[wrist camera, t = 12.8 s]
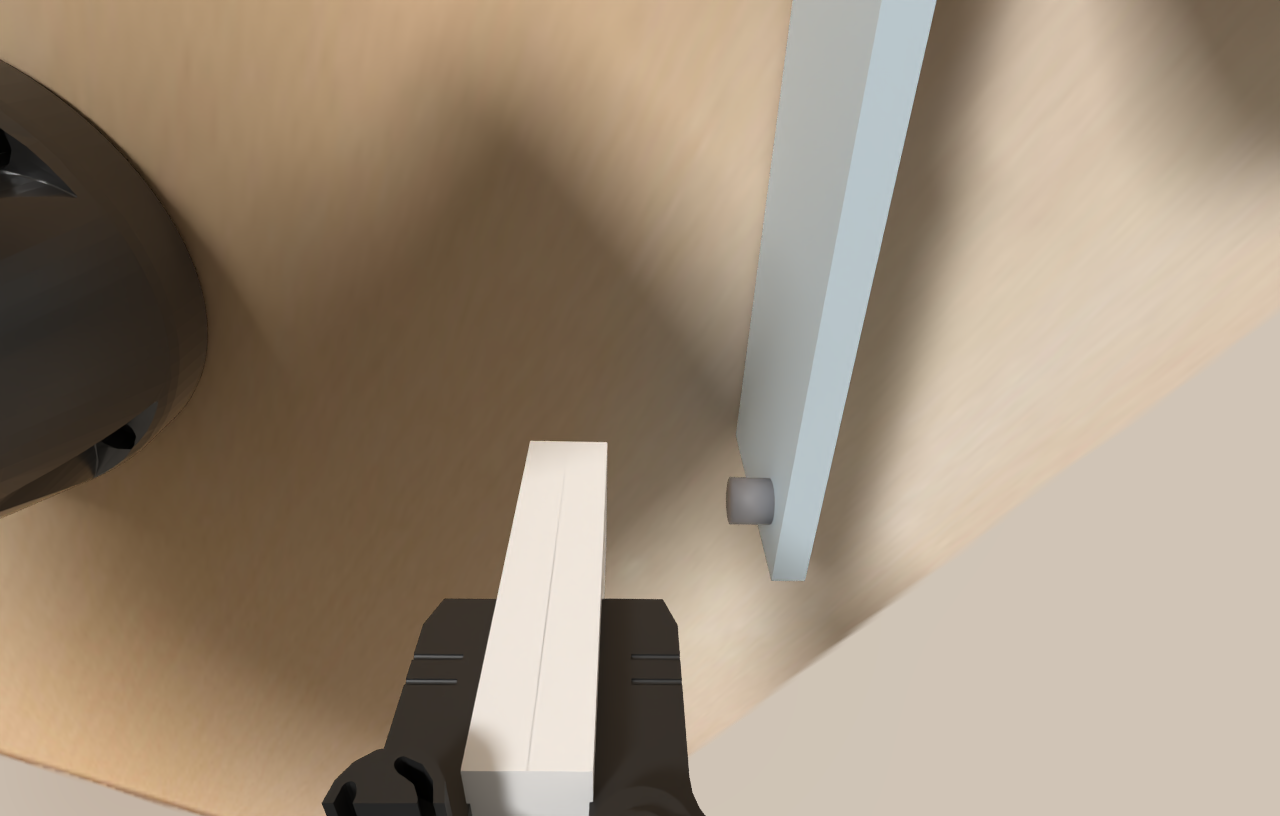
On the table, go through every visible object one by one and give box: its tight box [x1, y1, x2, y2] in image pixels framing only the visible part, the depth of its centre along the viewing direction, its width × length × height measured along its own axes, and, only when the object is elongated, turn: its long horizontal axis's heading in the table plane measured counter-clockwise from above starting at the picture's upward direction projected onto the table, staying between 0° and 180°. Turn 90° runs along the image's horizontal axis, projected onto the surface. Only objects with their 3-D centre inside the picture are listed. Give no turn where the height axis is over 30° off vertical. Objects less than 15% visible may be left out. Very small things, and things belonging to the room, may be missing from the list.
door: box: [726, 0, 936, 581], centre depth 20 cm, size 15×2×8 cm, turn 178°
